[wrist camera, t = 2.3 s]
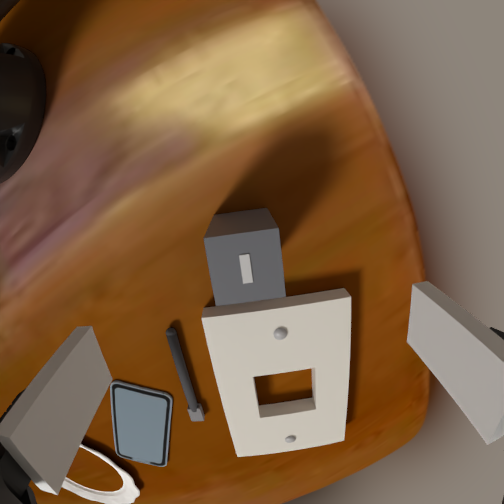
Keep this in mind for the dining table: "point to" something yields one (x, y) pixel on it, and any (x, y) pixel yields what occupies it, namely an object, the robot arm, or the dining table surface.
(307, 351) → the outlet plate
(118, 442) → the smartphone
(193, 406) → the cable
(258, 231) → the block
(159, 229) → the dining table surface
